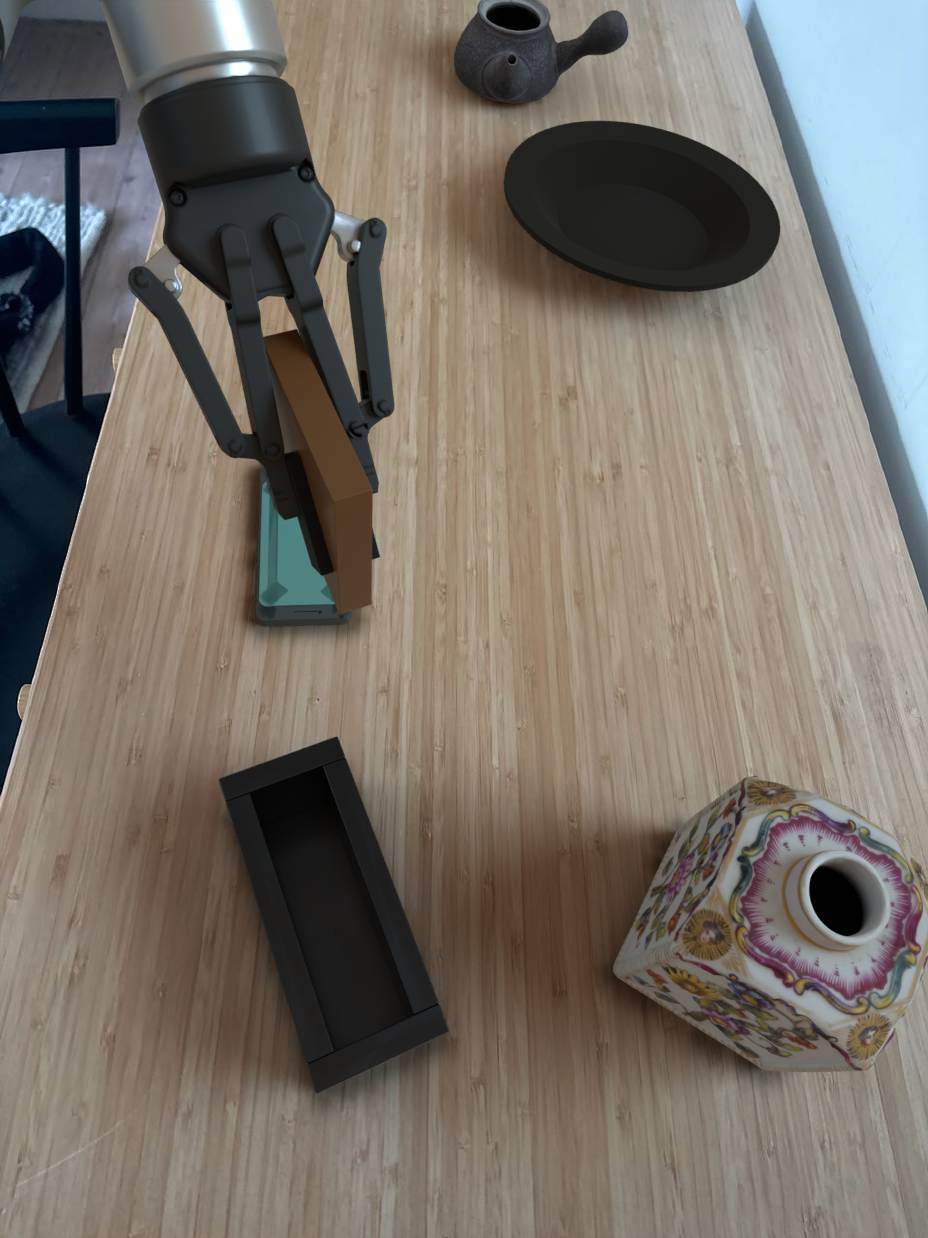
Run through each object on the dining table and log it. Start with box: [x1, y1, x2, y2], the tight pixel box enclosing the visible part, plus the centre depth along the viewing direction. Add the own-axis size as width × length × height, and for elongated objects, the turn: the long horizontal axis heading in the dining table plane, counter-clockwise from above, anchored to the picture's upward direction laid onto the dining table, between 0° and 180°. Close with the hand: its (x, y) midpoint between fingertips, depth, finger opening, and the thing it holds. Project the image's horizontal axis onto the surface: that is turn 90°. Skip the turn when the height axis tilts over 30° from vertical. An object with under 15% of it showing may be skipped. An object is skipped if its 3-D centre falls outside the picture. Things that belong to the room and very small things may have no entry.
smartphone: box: [254, 466, 353, 627], centre depth 70 cm, size 7×1×15 cm
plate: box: [502, 120, 781, 293], centre depth 88 cm, size 28×24×6 cm
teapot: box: [453, 0, 629, 104], centre depth 98 cm, size 19×15×10 cm
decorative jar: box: [612, 775, 928, 1073], centre depth 51 cm, size 12×12×18 cm
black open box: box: [218, 735, 450, 1095], centre depth 53 cm, size 18×8×9 cm, turn 23°
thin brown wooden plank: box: [263, 328, 374, 615], centre depth 48 cm, size 11×2×12 cm, turn 24°
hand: (345, 560), depth 49 cm, fingers closed on thin brown wooden plank, 2 cm apart
